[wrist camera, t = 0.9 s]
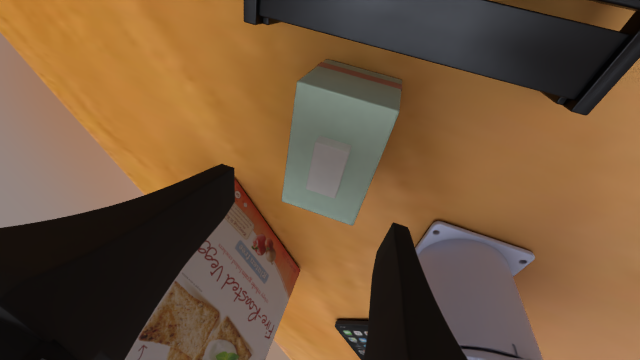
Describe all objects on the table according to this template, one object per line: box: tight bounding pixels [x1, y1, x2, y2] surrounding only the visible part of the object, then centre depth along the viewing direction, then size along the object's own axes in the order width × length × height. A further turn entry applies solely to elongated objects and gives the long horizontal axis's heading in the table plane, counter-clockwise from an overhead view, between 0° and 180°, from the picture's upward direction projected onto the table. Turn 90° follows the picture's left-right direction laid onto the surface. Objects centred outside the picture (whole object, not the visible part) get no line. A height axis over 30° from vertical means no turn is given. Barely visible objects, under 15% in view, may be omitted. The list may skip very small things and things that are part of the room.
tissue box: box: [282, 59, 402, 226], centre depth 16 cm, size 8×5×6 cm, turn 169°
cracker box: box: [125, 179, 300, 360], centre depth 21 cm, size 14×6×21 cm, turn 27°
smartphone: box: [335, 320, 369, 360], centre depth 36 cm, size 7×1×15 cm
